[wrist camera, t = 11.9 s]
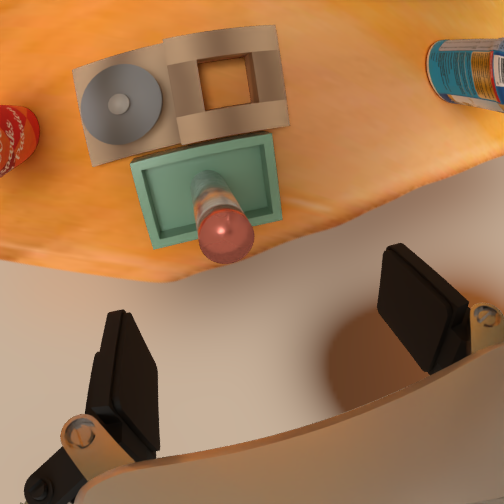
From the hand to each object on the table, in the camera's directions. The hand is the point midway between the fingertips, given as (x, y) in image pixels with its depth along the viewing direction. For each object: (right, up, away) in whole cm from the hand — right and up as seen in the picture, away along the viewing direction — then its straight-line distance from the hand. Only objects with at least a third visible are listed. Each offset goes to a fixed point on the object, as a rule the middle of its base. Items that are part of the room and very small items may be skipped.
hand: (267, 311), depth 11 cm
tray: (-5, +8, +18) cm, 20 cm away
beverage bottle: (+23, +24, +17) cm, 37 cm away
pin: (-5, +8, +17) cm, 19 cm away
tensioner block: (-7, +16, +13) cm, 22 cm away
